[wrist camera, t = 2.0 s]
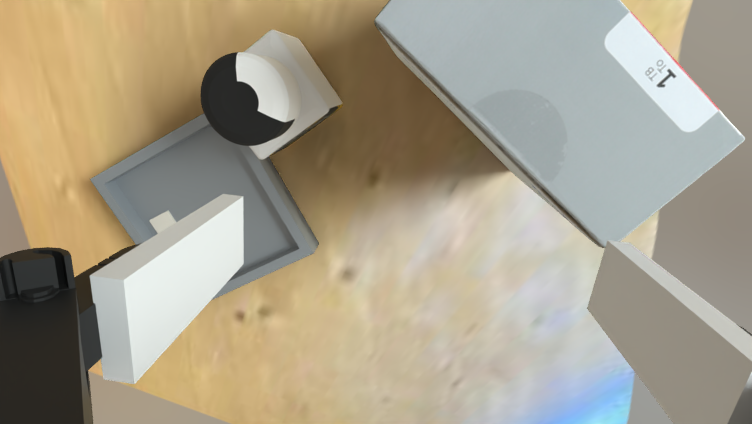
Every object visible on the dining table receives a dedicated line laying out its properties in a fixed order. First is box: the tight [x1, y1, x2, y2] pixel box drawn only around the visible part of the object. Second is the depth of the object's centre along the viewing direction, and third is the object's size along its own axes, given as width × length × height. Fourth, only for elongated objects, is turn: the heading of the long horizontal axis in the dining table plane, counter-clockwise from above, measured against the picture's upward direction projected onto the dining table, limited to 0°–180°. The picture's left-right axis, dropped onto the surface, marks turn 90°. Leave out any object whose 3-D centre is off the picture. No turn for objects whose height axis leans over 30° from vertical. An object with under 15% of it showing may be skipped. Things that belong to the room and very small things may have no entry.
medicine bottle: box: [201, 30, 343, 160], centre depth 33 cm, size 7×7×12 cm
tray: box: [90, 113, 319, 300], centre depth 41 cm, size 16×16×2 cm
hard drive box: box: [374, 0, 745, 248], centre depth 27 cm, size 16×8×20 cm, turn 48°
